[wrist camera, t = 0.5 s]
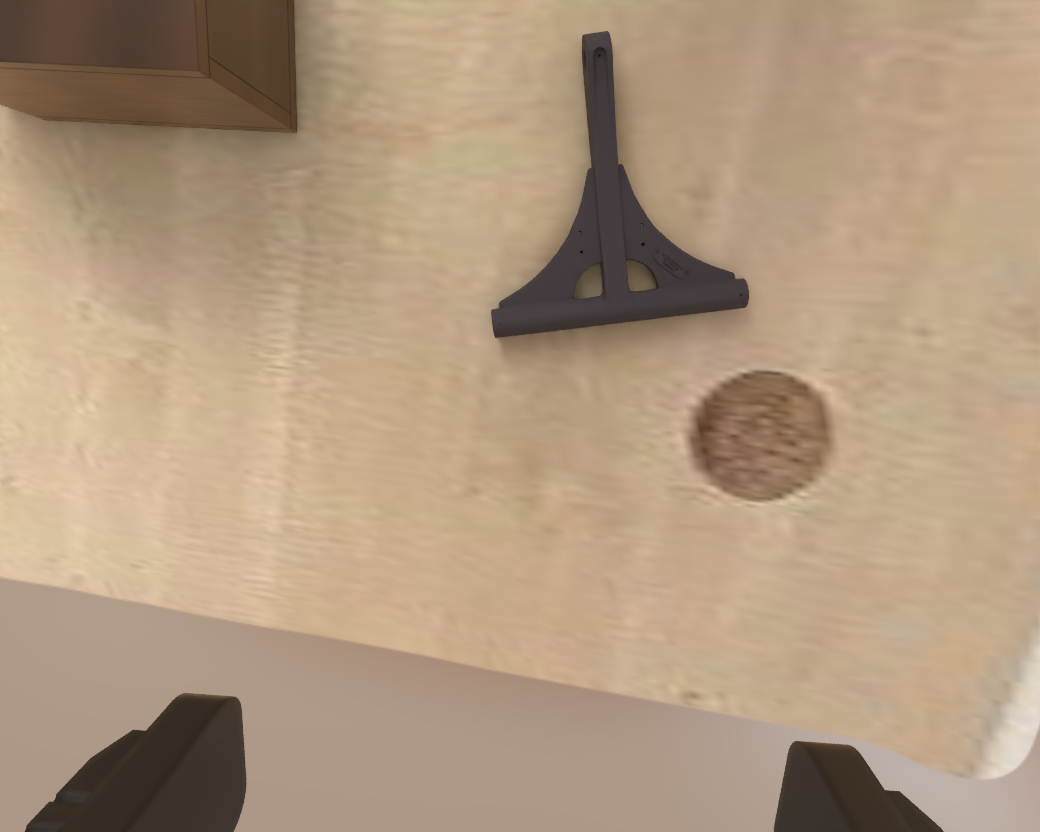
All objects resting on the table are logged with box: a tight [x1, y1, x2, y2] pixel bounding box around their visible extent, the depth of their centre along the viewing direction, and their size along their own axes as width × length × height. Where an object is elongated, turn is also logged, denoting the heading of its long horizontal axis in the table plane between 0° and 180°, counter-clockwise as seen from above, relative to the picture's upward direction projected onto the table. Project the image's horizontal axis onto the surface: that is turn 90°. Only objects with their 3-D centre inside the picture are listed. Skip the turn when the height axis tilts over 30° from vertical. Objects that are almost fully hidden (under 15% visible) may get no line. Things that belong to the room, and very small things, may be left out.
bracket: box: [491, 31, 749, 338], centre depth 31 cm, size 14×15×3 cm
